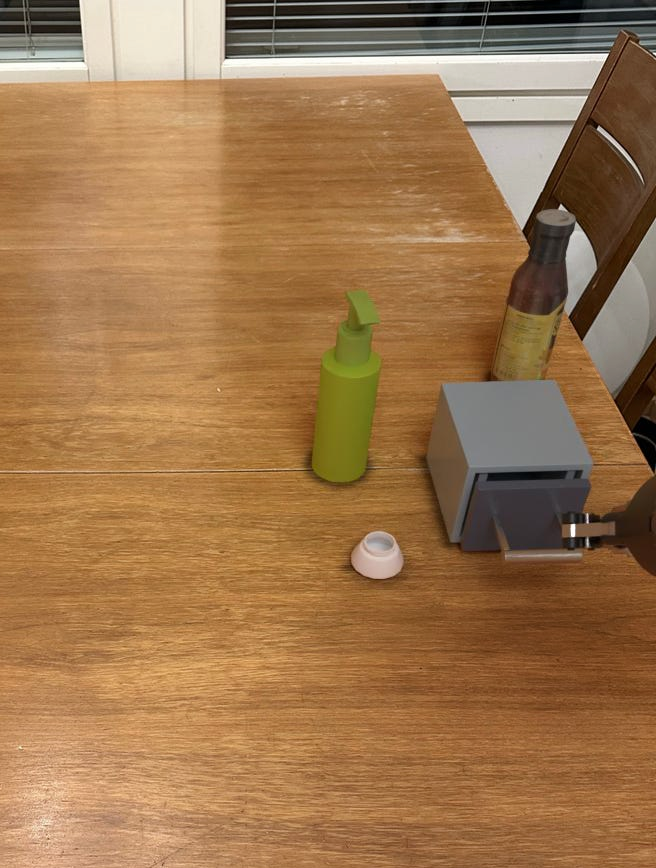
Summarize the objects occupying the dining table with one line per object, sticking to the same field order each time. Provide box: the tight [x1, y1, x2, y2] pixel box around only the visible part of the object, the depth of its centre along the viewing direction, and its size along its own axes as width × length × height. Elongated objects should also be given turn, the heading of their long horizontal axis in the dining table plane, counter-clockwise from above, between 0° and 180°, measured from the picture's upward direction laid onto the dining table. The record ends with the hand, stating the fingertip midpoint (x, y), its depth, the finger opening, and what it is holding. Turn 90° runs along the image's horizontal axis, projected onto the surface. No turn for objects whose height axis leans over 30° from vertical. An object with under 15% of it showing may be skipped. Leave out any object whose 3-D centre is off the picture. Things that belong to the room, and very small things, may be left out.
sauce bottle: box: [490, 208, 577, 382], centre depth 108 cm, size 7×6×20 cm
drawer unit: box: [425, 379, 595, 543], centre depth 99 cm, size 14×12×10 cm
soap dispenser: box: [310, 289, 382, 484], centre depth 99 cm, size 6×7×20 cm
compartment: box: [459, 470, 592, 566], centre depth 95 cm, size 19×10×8 cm, turn 1°
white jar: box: [350, 530, 405, 580], centre depth 95 cm, size 5×3×5 cm
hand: (598, 533), depth 77 cm, fingers closed
